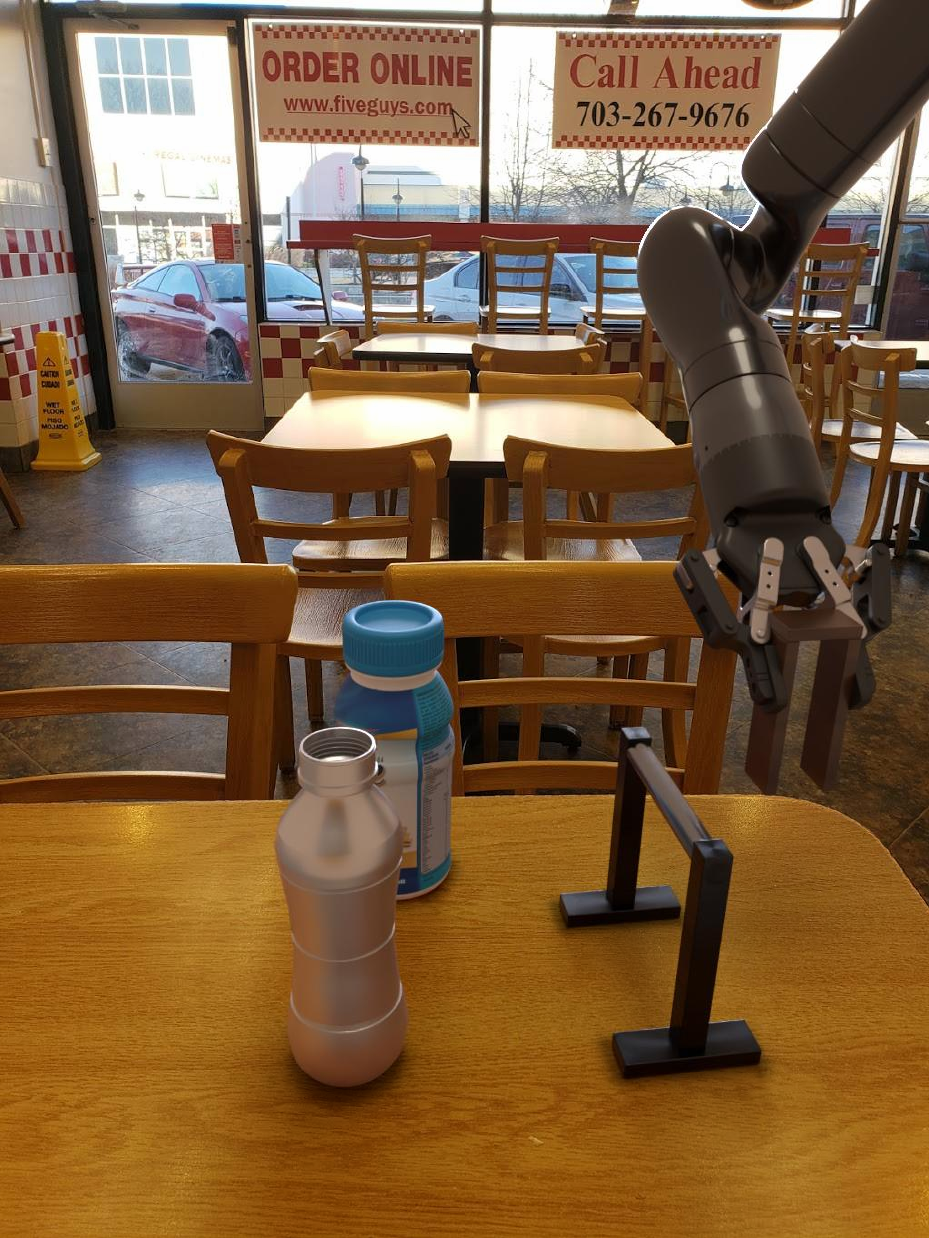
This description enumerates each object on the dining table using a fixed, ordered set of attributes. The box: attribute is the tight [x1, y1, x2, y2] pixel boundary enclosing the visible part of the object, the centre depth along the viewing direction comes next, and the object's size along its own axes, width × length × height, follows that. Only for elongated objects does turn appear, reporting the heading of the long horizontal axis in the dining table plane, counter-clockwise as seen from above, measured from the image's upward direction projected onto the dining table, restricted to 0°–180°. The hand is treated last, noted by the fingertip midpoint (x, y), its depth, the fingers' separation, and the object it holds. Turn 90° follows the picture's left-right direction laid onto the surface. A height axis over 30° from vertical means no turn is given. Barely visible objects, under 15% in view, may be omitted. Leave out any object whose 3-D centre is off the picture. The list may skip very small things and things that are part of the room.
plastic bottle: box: [273, 726, 409, 1088], centre depth 49 cm, size 6×7×20 cm
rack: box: [558, 726, 763, 1079], centre depth 57 cm, size 8×15×14 cm, turn 8°
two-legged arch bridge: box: [743, 609, 864, 796], centre depth 57 cm, size 5×3×11 cm, turn 98°
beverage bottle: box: [333, 599, 456, 901], centre depth 66 cm, size 8×8×20 cm
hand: (818, 707), depth 55 cm, fingers closed on two-legged arch bridge, 4 cm apart
